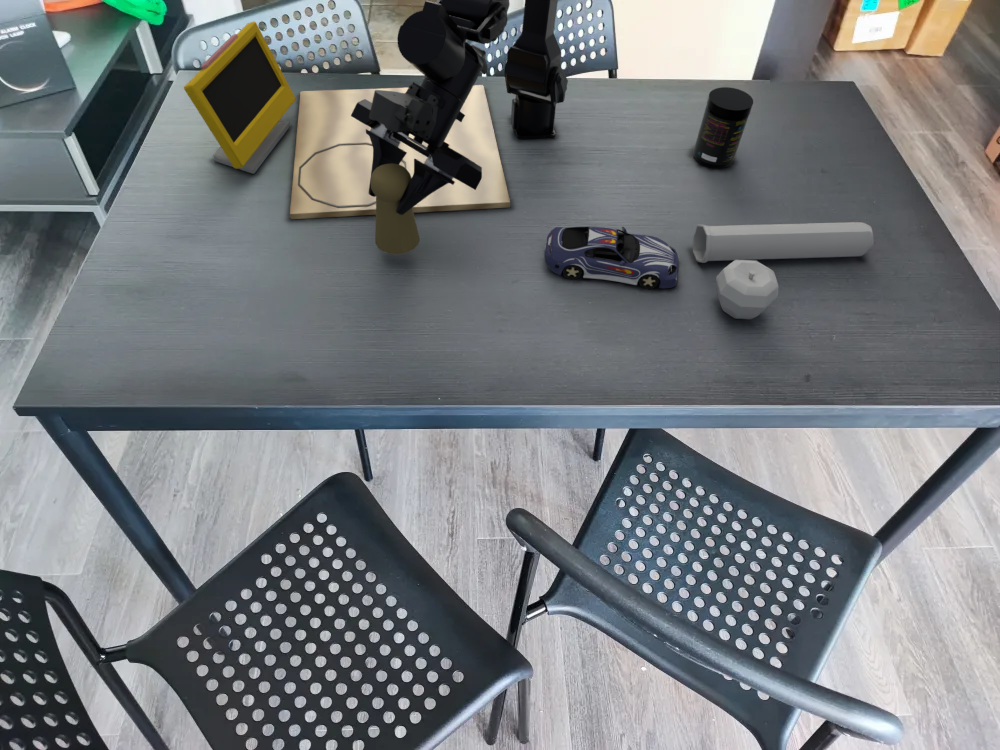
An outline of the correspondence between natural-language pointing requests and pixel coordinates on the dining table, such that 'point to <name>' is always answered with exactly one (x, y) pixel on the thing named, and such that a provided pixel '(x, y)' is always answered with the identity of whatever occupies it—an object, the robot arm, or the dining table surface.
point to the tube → (781, 241)
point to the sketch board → (349, 156)
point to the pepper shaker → (393, 210)
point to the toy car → (611, 256)
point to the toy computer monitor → (242, 99)
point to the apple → (746, 288)
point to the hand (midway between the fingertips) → (384, 204)
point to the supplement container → (722, 127)
